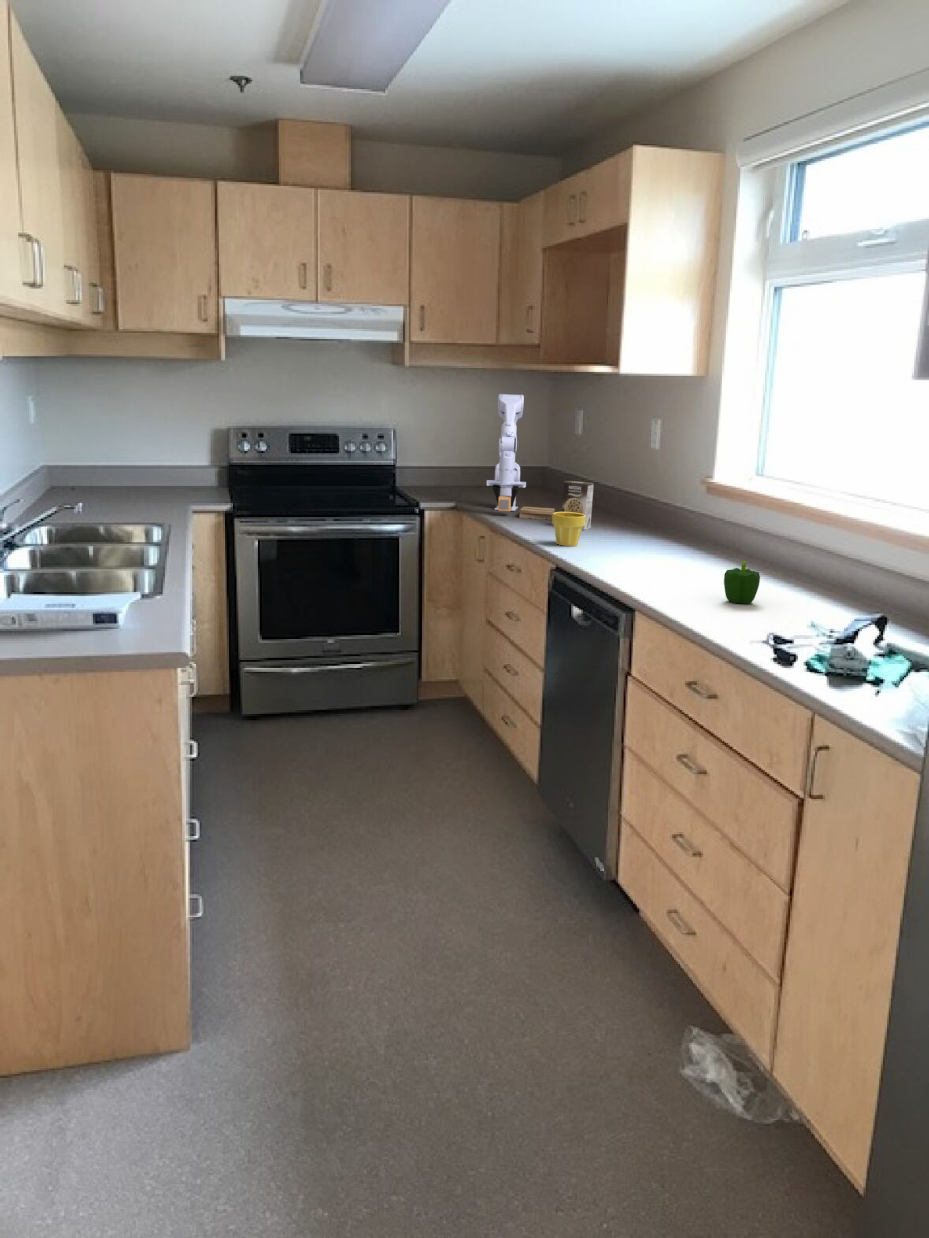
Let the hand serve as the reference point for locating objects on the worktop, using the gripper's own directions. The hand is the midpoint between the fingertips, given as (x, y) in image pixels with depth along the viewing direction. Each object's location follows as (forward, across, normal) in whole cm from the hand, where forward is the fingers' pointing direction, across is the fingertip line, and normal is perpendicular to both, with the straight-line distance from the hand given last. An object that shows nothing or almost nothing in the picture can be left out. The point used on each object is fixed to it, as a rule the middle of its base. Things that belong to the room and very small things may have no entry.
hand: (505, 506), depth 373 cm
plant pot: (+4, +28, -55) cm, 62 cm away
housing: (+1, 0, 0) cm, 1 cm away
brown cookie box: (+4, +28, -19) cm, 34 cm away
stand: (+4, +12, +1) cm, 13 cm away
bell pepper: (+3, +76, -122) cm, 144 cm away
